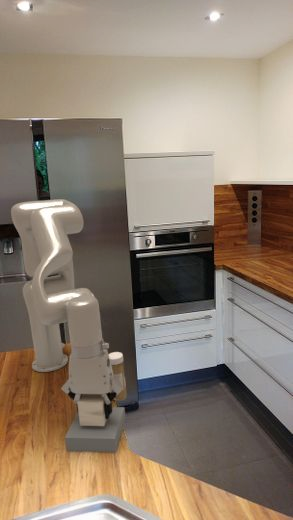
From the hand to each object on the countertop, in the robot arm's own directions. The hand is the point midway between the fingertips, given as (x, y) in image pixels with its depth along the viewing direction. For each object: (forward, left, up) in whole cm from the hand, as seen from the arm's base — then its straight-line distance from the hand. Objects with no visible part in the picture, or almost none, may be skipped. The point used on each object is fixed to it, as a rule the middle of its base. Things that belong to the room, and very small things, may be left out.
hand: (95, 414), depth 88 cm
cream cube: (0, 0, -1) cm, 1 cm away
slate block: (0, 0, -6) cm, 6 cm away
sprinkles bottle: (-16, +2, -6) cm, 17 cm away
